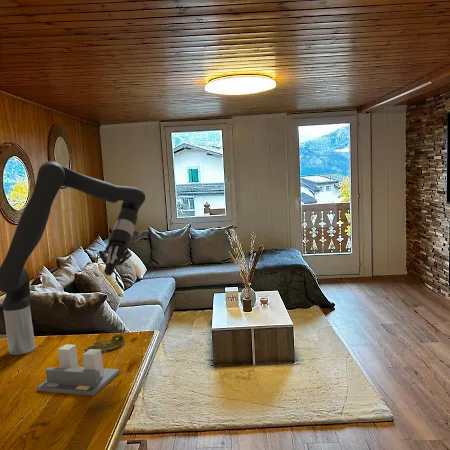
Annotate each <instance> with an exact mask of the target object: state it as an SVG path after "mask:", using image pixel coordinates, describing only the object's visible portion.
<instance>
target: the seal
mask: <svg viewBox="0 0 450 450" xmlns="http://www.w3.org/2000/svg"><path fill="white" fill-rule="evenodd" d="M117 338H118V339H117ZM125 343H126V340H125V339H124V335H123V334H116V335H115V334H114V335H113V336H112V338H111V339H109V340H104V341H100V342H94V343H93V344H92V345H89V346H87V347H86V348H85V349H84V353H85V352H86V351H88V350H89V349H99V350H101V354H104V353H105V354H106V353H109V352H112V350H113V351H115V349H116V350H118V349H117V348H119V347H121V346H122V347H124V346H125V345H126V344H127V343H126V344H125ZM124 344H125V345H124ZM123 345H124V346H123ZM122 347H121V348H122ZM119 349H120V348H119Z"/></svg>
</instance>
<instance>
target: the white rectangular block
mask: <svg viewBox="0 0 450 450" xmlns="http://www.w3.org/2000/svg"><path fill="white" fill-rule="evenodd" d="M77 351H78V350H77V345H76V344H67V343H66V344H64V345H62V346H60V347H59V348H58V349H57V353H58V362H59V363H58V364H59V368H71V369H79V367H80V366H79V361H78V360H79V359H78V352H77Z"/></svg>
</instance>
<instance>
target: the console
mask: <svg viewBox="0 0 450 450" xmlns="http://www.w3.org/2000/svg"><path fill="white" fill-rule="evenodd" d="M78 367H79V369H71V368H60V367H56V366H54V367H53V366H49V367H48V368H46V369H45V374H46V380H45V381H44V382H42V383H40V384H39V385H38V386H37V387H36V388H37V389H36V390H37V391H38V392H49V393H60V394H70V395H71V394H72V395H80V396H81V395H82V396H83V395H84V396H96V394H98V393H99V392H100V391H101V390H102V389H103V388H105V387H106V386H107V385H108V384H109V383H110V382H111V381H112V380H113V379H115V378H116V377H117V376H118V375H119V374H120V372H121V371H120V369H118V368H107V367H105V368H104V367H103V372H104V375H103V376H102V377H101V378H100V373H99V370H86V369H84V366H78Z"/></svg>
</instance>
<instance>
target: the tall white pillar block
mask: <svg viewBox="0 0 450 450" xmlns="http://www.w3.org/2000/svg"><path fill="white" fill-rule="evenodd" d="M102 354H103V353H101V350H99V349H89V350H88V351H86V352H85V351H84V353H82V362H83V367H84V369H86V370H99V373H100V378H101V377H102V376H103V375H104V372H103V368H104V365H103V356H102Z"/></svg>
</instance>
